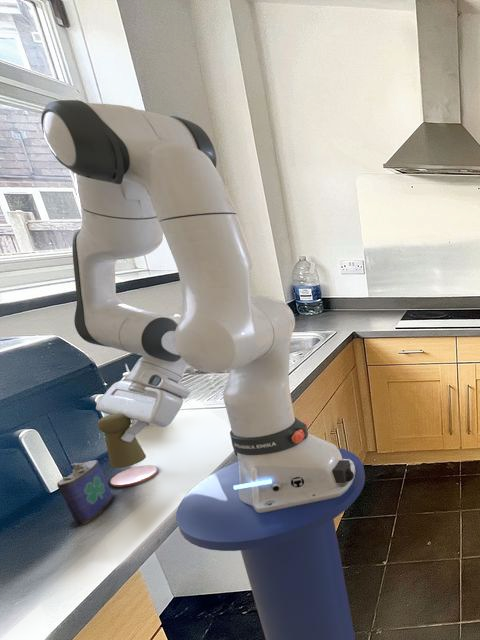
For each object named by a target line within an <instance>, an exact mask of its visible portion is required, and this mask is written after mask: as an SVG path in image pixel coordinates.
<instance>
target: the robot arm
mask: <svg viewBox="0 0 480 640" xmlns="http://www.w3.org/2000/svg"><path fill="white" fill-rule="evenodd" d="M40 121H41V122H40V124H41V130H42V134H43V137H44V139H45V142H46V144H47V146H48V148H49V151H51V153H52V155H53V156H54V157H55V159H56V160H57V161H58V162H59V163H60V164H61V165H62V166H63V167H65V168H66V169H67V170H69V171H70V172H72V173H74V179H75V180H74V181H75V188H76V193H77V194H76V195H77V199H78V204H79V208H80V212H81V213H80V214H81V227H79V228H78V229H76V230H75V232H74V234H73V237H72V248H71V249H72V264H73V273H74V286H75V294H76V305H75V306H76V307H75V312H74V318H73V321H74V323H73V324H74V327H75V330H76V332H77V334H78V335H79V337H80V338H81V339H82V340H84V341H85V342H87V343H89V344H92V345H97V346H101V347H102V346H103V347H107V348H111V349H112V348H113V349H116V350H119V351H122V352H127V353H131V354H134V355H138V356H140V358H139V359H138V360H137V361H136V363H135V364H134V366H133V368H132V369H131V370H130V373H129V375H128V376H127V377H126V378H125V379H123V380H122V379H120V380H119V381H116V382H114V383H113V384H112V385H110V387H109V388H108V389H107V390H106V392H105V393H104V394H102V396H101V398H100V399H99V400H98V401H97V403H96V405H95V410H96V411H97V412H101V413H104V414H107V415H111V414H117V413H122V414H124V415H126V417H127V418H130V419H131V420H133V421H131V425H130V427H129V428H128V429H127V430H126V431H125V432H124V431H123V432H122V433H121V435H120V436H119V439H120V440H124V441H127V442H131V441H132V440H133V438H134V437H136V436H137V435H139V434H140V433H141V432H142V431H143V430H145V429H146V427H147V425H151V426H155V427H158V428H162V429H163V428H166V427H168V426H169V425H170V424H171V423H172V422H173V420H175V418H176V416H177V415H178V413H179V411H180V410H181V408H182V406H183V404H184V399H188V398H189V396H190V395H191V390H190V389H189V388H188V387H186V386H185V385H184V384H183V383H182V380H183V379H184V376H185V373H186V370H187V368H188V367H191V368H193V369H195V370H196V371H199V372H202V373H207V374H214V373H215V374H217V373H224V372H228V371H229V372H228V373H229V374H228V378H227V382H226V384H225V386H224V389H223V395H222V396H223V402H224V407H225V411H226V413H227V414H226V415H227V418H228V422H229V426H230V429H231V430H230V432H229V436H230V440H231V446H232V449H233V453H234V454H235V457H237V461H238V463H239V473H240V485H235V486H234V490H235V489H239V494H238V495H239V499H240V500H241V501H242V502H244V503H246V504H248V505H251V506H253V507H254V509H255V511H256V512H258V513H264V512H268V511H273V510H278V509H283V508H288V507H293V506H297V505H302V504H307V503H312V502H317V501H322V500H326V499H331V498H336V497H339V496H341V495H342V494H343V493H345V492H346V491H347V490H348V488H349V487H350V486H351V484H352V482H353V480H354V477H355V466H354V463H353V462H352V461H351V460H350V459H342V456H341V453H340V451H339V449H338V448H339V447H338V446H337V445H336V444H334V443H332V442H330V441H327V440H325V439H322V438H320V437H318V436H316V435H313V434H311V433H309V430H308V426H309V422H308V419H307V418H306V419H305V420H304V422H303V421H301V420H300V419H299V418H297V417H296V416H295V412H294V405H293V401H292V395H291V390H290V351H291V340H292V336H293V332H294V330H295V327H296V317H295V314H294V312H293V310H292V309H291V308H290V306H289V305H288V304H287V302H285V301H284V300H282V299H280V298H278V297H274V296H269V295H256V294H254V295H252V294H251V289H250V273H251V269H252V267H253V262H254V261H253V260H254V259H253V255H252V252H251V250H250V247H249V243H248V241H247V239H246V236H245V233H244V230H243V227H242V224H241V221H240V219H239V216H238V214H237V211H236V208H235V206H234V202H233V200H232V199H231V196H230V193H229V191H228V189H227V187H226V185H225V183H224V181H223V179H222V177H221V176H220V174H219V172H218V170H217V164H218V163H217V162H218V161H217V160H218V159H217V153H216V149H215V146H214V144H213V142H212V141H211V138H210V137H209V135H208V134H207V132H206V131H205V130H204V129H203V127H201V126H199V125H198V124H196V123H195V122H193V121H190V120H188V119H186V118H182V117H180V116H177V115H176V116H175V115H169V116H168V115H165V114H161V113H156V112H153V111H147V110H143V109H137V108H135V107H132V106H128V105H120V104H110V103H99V102H98V103H97V102H96V103H95V102H85V101H82V100H80V99H62V100H54V101H50V102H48V103H47V104H46V105H45V107H44V108H43V110H42V113H41V117H40ZM164 238H165V241H166V243H167V245H168V248H169V250H170V252H171V255H172V258H173V260H174V263H175V265H176V269H177V272H178V276H179V283H180V291H181V314H174V315H165V314H162V313H161V314H160V313H157V312H152V311H149V310H146V309H142V308H139V307H135V306H131V305H128V304H127V303H124V302H123V301H122V300H121V299H120V298H119V297H118V296H117V286H116V263H117V261H118V260H130V259H135V258H140V257H143V256H144V257H145V256H146V255H150V254H151V253H153V252H154V251H156V250H157V249H158V248H159V247H160V245H161V244H162V243H163V239H164ZM102 435H103V436H105V433H103V432H102Z"/></svg>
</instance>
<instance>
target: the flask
mask: <svg viewBox="0 0 480 640" xmlns="http://www.w3.org/2000/svg"><path fill="white" fill-rule="evenodd" d="M71 466H74V468H72V473H69V475H68V476H64V477H62V479H60V480H59V481H58V482H57V484H56V486H57V488H58V490H59V492H60V495H61V496H62V498H63V500H64V502H65V505H66V507H67V509H68V512H69V513H70V514H71V517H72V518H73V521H74V524H75V526H78V525H79V526H80V525H84V524H86V523H89V522H91V521H92V520H93V519H95V518H96V517H97V516H99V514H101V513H102V512H103V511H104V510H105V508H106V507H107V506H108V505H109V504H110V503H111V502H112V501H113V494H112V492H111V489H110V487H109V485H108V483H107V479H106V478H105V475H104V473H103V470H102V468H101V465H100V463H99V460H96V459H93V460H89V461H84V462H74V463H72V464H71Z"/></svg>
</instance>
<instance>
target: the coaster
mask: <svg viewBox="0 0 480 640" xmlns="http://www.w3.org/2000/svg"><path fill="white" fill-rule="evenodd" d="M158 470H159V469H158V467H156V466H155V465H152V464H151V465H146V464H145V465H139V466H134V467H132V468H128V469H125V470H123V471H121V472H119V473H116V474H115V475H114V476H113V477H112V478H111V479H110V480H109V483H110V485H111V486H112V487H115V488H126V487H131V486H135V485H138V484H141V483H144V482H146V481H148V480H150V479H152V478H153V477H155V476H156V475H157V473H158Z"/></svg>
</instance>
